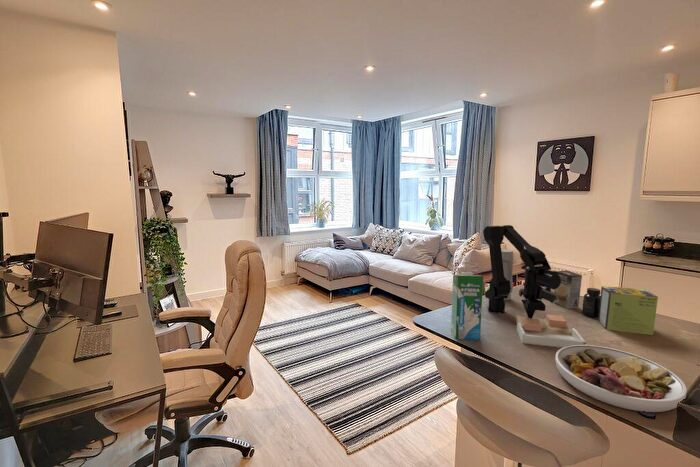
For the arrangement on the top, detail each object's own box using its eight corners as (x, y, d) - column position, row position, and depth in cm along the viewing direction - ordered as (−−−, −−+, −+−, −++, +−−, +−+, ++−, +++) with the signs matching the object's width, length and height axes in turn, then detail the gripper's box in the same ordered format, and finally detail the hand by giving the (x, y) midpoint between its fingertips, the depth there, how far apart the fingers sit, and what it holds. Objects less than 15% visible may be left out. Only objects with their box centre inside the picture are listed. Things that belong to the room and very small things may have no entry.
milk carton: (473, 329, 137) (476, 269, 134) (480, 340, 129) (483, 275, 125) (450, 329, 138) (453, 269, 135) (455, 339, 129) (458, 275, 126)
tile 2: (549, 325, 136) (549, 319, 136) (545, 320, 142) (545, 314, 141) (566, 327, 134) (566, 321, 134) (561, 321, 140) (562, 315, 140)
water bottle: (491, 297, 176) (494, 249, 172) (504, 295, 178) (507, 248, 175) (504, 303, 167) (507, 253, 164) (517, 301, 170) (521, 252, 166)
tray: (522, 343, 126) (522, 335, 125) (516, 329, 137) (517, 322, 137) (585, 350, 120) (585, 342, 119) (574, 336, 131) (574, 328, 131)
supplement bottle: (604, 318, 148) (607, 291, 146) (588, 318, 148) (591, 291, 146) (593, 312, 155) (596, 286, 153) (578, 312, 155) (580, 286, 153)
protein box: (653, 335, 131) (659, 296, 129) (606, 330, 136) (610, 292, 134) (641, 324, 141) (645, 288, 139) (597, 320, 146) (600, 285, 144)
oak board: (519, 330, 137) (519, 325, 136) (515, 320, 146) (515, 316, 146) (571, 335, 131) (571, 331, 131) (563, 325, 141) (563, 321, 141)
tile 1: (523, 329, 133) (524, 323, 133) (521, 322, 139) (522, 316, 138) (540, 331, 131) (541, 325, 131) (538, 324, 137) (538, 318, 136)
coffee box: (552, 302, 168) (555, 270, 165) (563, 301, 169) (566, 270, 167) (568, 309, 159) (571, 275, 156) (579, 308, 160) (582, 274, 158)
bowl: (562, 349, 121) (564, 328, 120) (678, 379, 103) (681, 355, 101) (546, 389, 98) (548, 363, 97) (691, 437, 80) (696, 406, 79)
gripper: (562, 290, 125) (559, 331, 127) (549, 277, 143) (546, 313, 145) (528, 288, 128) (526, 327, 130) (519, 275, 146) (517, 310, 148)
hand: (530, 319), depth 138 cm, fingers closed
